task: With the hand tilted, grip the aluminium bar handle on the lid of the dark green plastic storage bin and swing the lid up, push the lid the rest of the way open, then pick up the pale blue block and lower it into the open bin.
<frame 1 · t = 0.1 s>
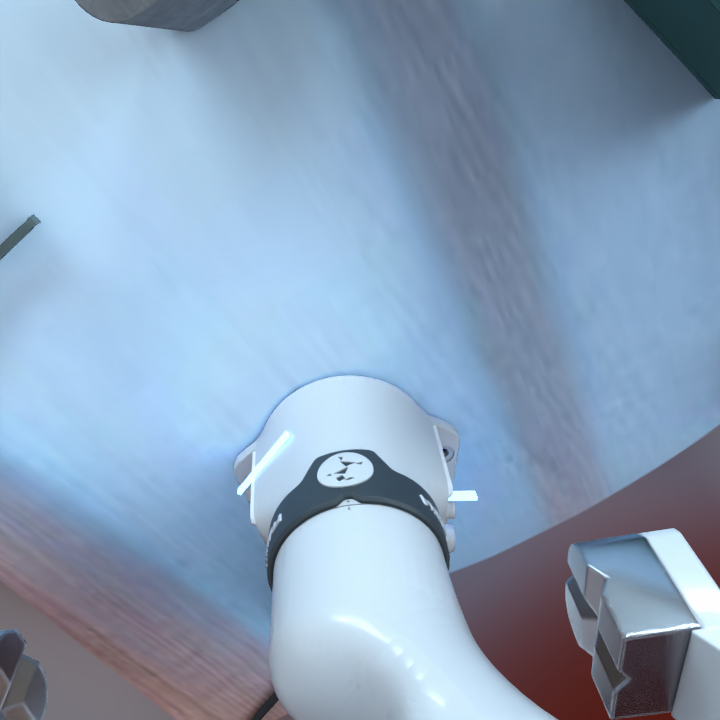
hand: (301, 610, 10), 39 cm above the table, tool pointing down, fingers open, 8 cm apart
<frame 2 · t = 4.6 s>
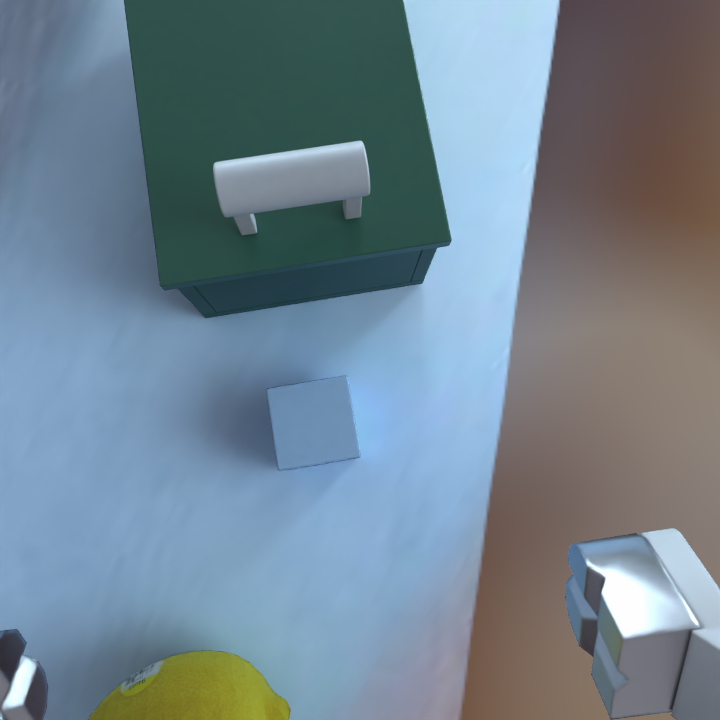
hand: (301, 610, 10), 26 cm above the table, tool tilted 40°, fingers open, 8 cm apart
lemon: (196, 713, 34), on the table
bin lid: (268, 26, 27), point 12 cm above the table, hinge at 0.0°
bin: (290, 150, 39), on the table
block: (317, 428, 36), on the table
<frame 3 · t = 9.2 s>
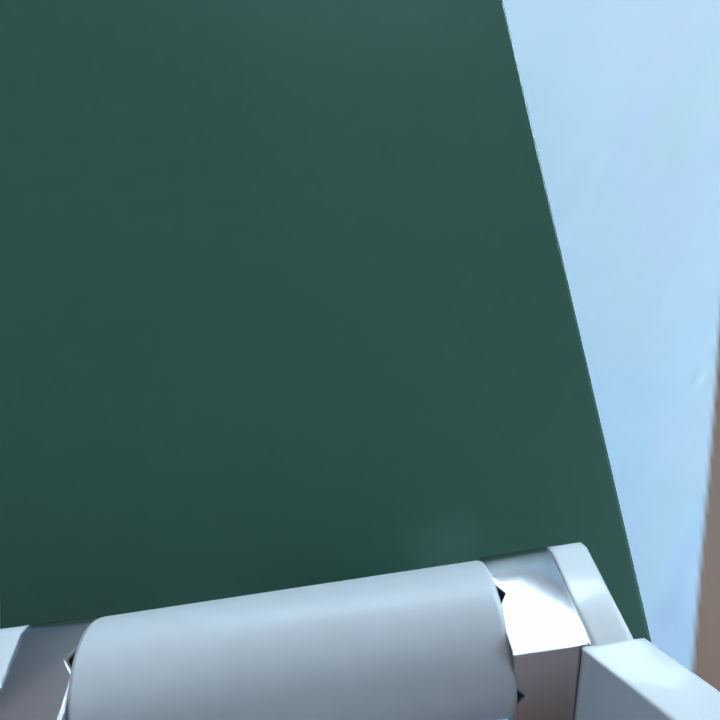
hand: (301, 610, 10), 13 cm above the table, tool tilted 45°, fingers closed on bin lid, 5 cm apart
bin lid: (259, 212, 12), point 12 cm above the table, hinge at 0.0°, touching gripper
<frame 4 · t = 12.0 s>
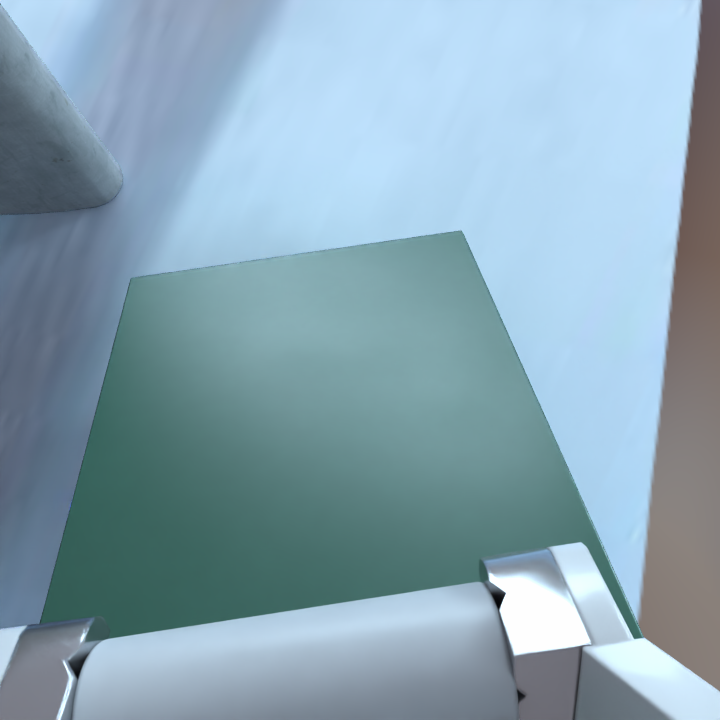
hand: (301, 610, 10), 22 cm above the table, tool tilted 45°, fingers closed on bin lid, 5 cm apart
bin lid: (299, 392, 16), point 17 cm above the table, hinge at 35.6°, touching gripper
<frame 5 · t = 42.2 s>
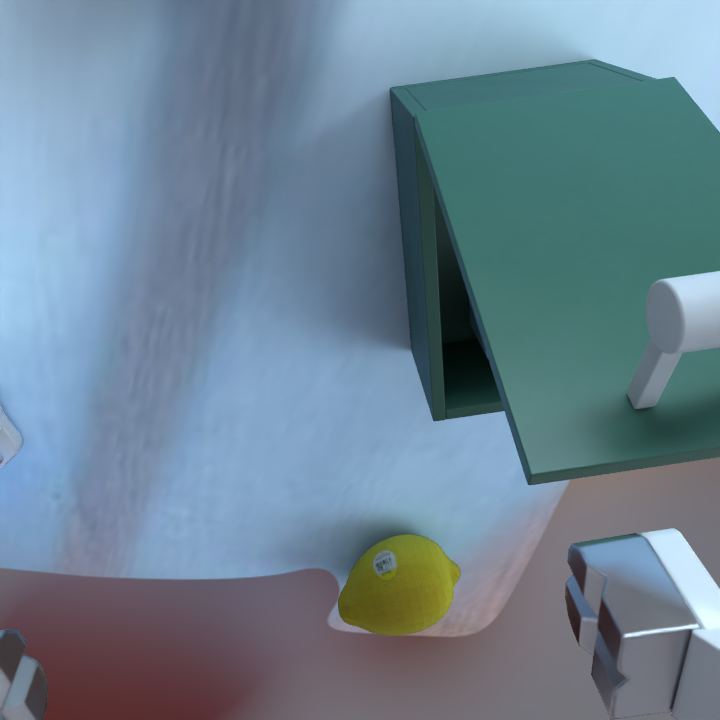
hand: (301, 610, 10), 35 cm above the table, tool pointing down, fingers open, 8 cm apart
lemon: (392, 547, 60), on the table
bin lid: (634, 181, 23), point 19 cm above the table, hinge at 69.5°
bin: (493, 221, 44), on the table
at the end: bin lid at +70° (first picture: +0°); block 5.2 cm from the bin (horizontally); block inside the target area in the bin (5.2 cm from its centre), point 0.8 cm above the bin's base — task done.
